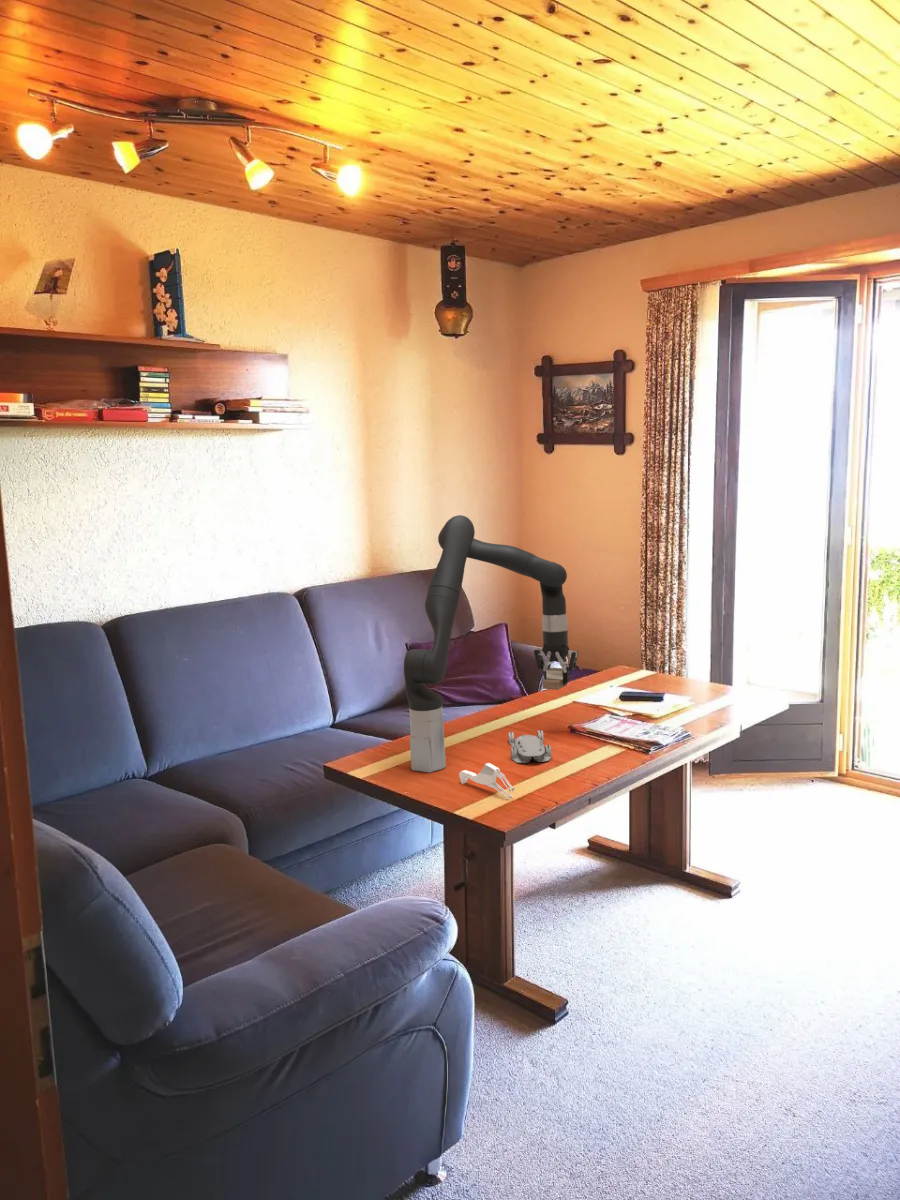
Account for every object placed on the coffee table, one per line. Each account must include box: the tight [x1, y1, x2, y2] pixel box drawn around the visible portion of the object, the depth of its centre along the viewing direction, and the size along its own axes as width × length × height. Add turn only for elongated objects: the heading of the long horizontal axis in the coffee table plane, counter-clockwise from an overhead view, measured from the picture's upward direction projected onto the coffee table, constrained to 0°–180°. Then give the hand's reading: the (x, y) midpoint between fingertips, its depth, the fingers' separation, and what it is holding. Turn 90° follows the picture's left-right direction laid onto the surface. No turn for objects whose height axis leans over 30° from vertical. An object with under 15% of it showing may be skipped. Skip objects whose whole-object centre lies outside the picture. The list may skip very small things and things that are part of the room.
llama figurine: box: [458, 762, 516, 800], centre depth 236 cm, size 2×11×18 cm
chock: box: [542, 667, 568, 691], centre depth 279 cm, size 7×5×5 cm
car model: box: [508, 729, 552, 764], centre depth 265 cm, size 11×24×5 cm, turn 1°
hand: (557, 683), depth 281 cm, fingers closed on chock, 5 cm apart
